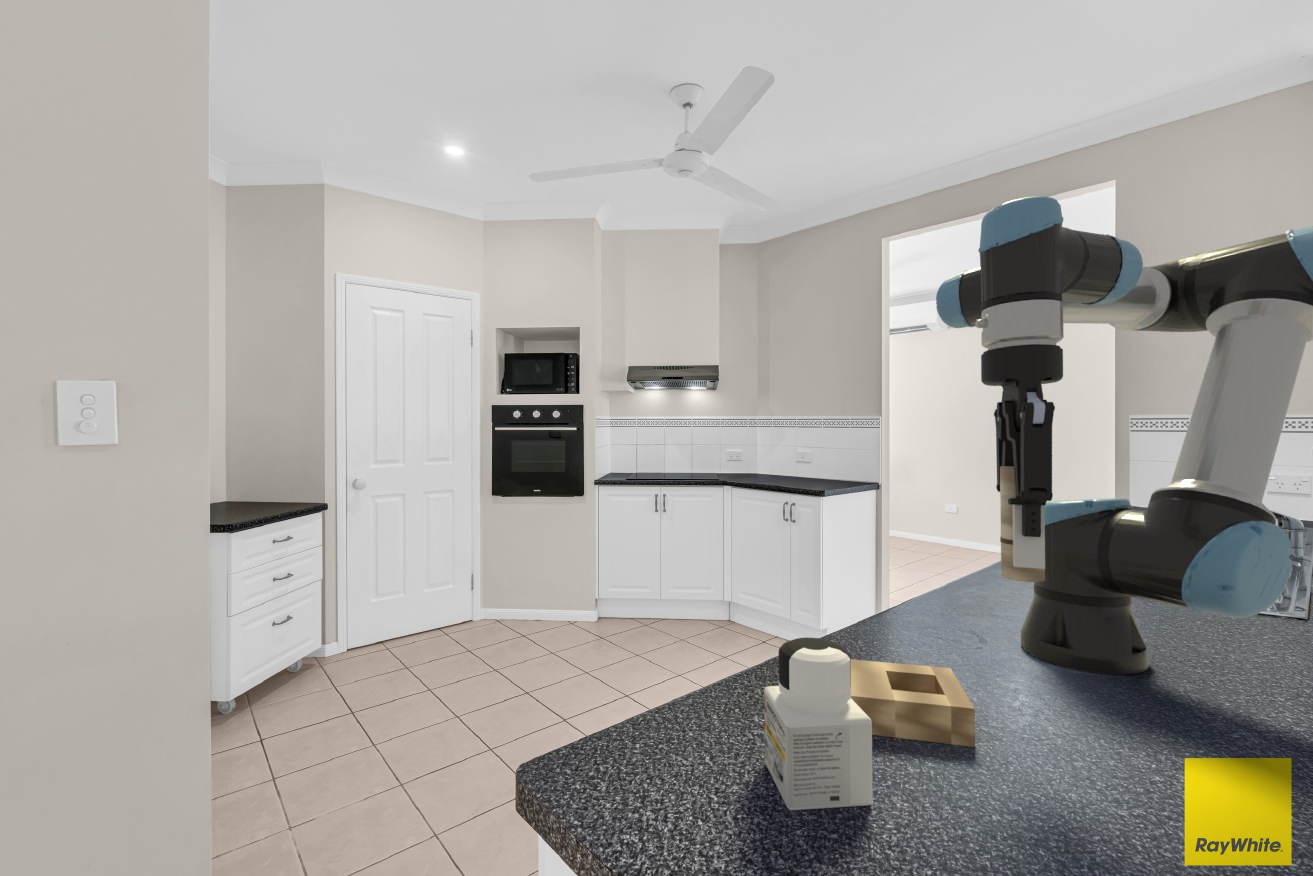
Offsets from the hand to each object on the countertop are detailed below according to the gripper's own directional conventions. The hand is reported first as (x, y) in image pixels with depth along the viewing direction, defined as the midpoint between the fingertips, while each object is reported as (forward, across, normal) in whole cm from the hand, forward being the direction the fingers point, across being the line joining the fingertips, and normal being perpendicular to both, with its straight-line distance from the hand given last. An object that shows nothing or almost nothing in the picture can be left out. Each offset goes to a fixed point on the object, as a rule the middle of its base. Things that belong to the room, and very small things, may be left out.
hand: (1022, 562), depth 62 cm
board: (+19, 0, -16) cm, 25 cm away
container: (+19, +16, -21) cm, 32 cm away
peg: (+2, 0, 0) cm, 2 cm away
